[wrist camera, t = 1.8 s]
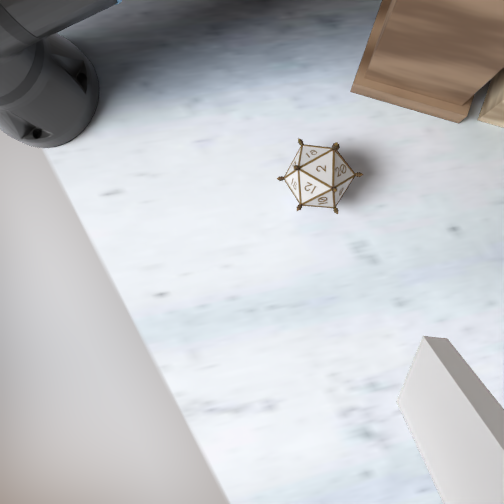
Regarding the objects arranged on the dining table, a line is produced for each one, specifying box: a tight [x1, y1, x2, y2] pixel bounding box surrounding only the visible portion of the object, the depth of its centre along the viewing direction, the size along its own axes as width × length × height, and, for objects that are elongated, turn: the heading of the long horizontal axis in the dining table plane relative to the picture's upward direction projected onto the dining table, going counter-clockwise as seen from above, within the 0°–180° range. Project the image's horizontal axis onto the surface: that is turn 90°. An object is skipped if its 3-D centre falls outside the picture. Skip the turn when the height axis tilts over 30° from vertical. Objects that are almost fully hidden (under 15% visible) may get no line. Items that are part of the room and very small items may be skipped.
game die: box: [277, 138, 363, 214], centre depth 40 cm, size 9×8×10 cm
